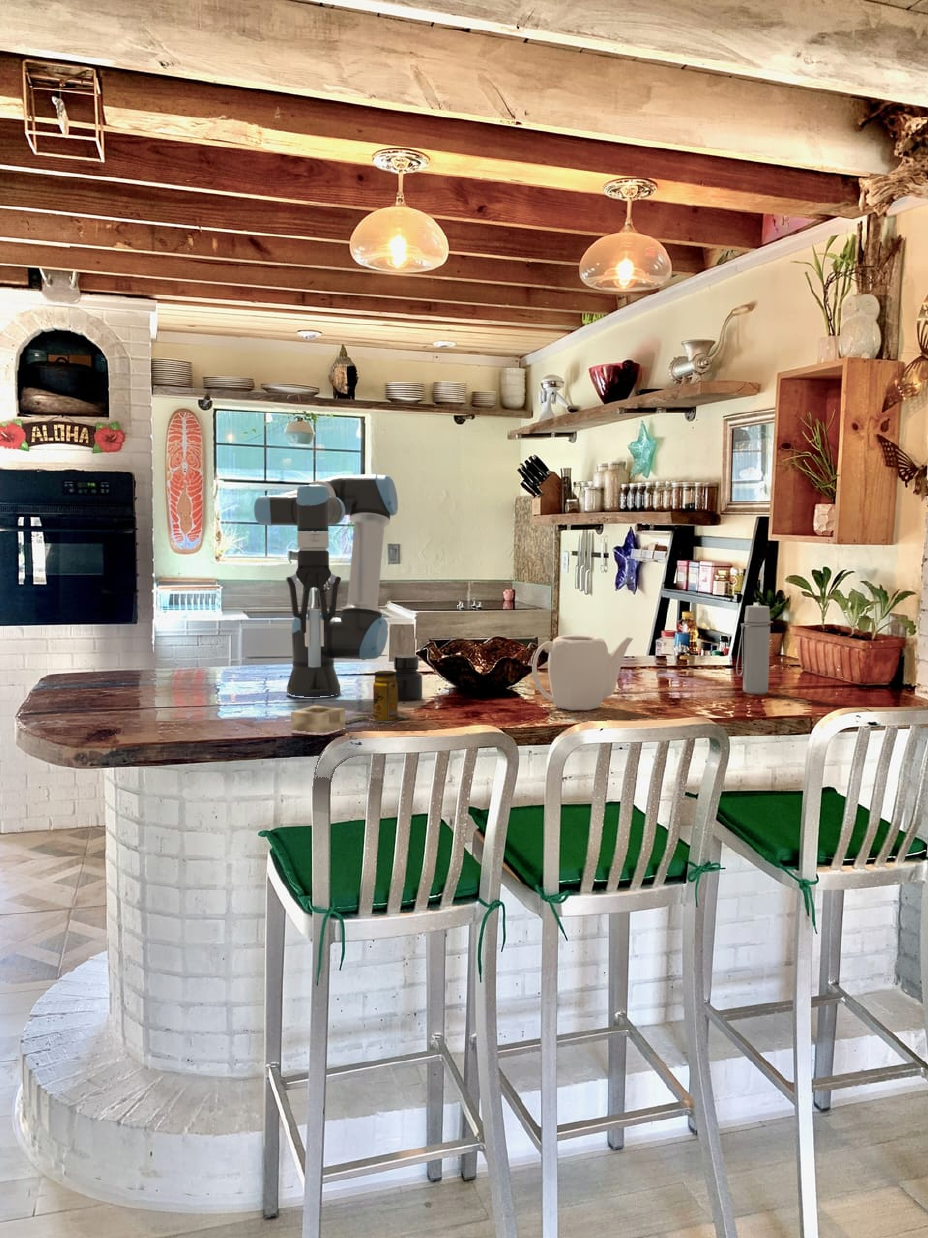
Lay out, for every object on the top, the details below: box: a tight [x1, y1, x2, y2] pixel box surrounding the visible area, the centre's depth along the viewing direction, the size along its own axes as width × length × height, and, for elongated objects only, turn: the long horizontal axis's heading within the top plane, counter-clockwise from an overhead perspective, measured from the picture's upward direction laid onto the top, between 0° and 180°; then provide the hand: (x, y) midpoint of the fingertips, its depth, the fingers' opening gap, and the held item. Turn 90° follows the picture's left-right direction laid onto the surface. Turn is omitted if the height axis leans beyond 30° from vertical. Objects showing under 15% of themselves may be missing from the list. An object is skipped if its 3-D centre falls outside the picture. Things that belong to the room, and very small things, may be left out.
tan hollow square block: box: [290, 704, 346, 733], centre depth 226 cm, size 9×9×5 cm
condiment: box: [368, 670, 409, 724], centre depth 240 cm, size 7×8×12 cm
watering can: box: [531, 634, 634, 711], centre depth 255 cm, size 16×27×19 cm, turn 91°
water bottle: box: [735, 605, 772, 695], centre depth 277 cm, size 9×8×25 cm
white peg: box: [307, 608, 321, 667], centre depth 235 cm, size 3×3×14 cm
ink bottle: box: [393, 654, 423, 702], centre depth 268 cm, size 10×9×12 cm
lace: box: [345, 715, 367, 723], centre depth 236 cm, size 10×1×1 cm, turn 143°
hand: (314, 645), depth 236 cm, fingers closed on white peg, 3 cm apart
